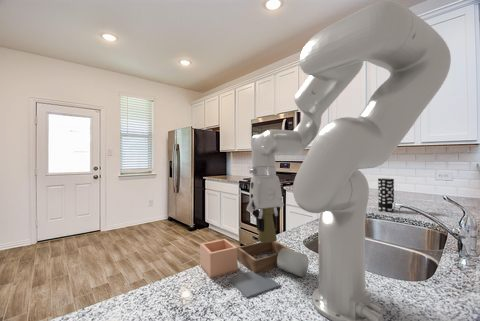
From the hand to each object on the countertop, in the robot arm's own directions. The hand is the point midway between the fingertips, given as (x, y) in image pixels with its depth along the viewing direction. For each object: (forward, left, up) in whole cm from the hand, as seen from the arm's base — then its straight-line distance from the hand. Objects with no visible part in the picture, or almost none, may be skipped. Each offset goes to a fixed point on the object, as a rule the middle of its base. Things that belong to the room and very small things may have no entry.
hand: (266, 228), depth 72 cm
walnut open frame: (+1, 0, -11) cm, 11 cm away
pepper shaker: (0, 0, -4) cm, 4 cm away
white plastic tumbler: (-9, -3, -11) cm, 14 cm away
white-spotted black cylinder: (+20, -106, -11) cm, 108 cm away
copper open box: (+4, +15, -11) cm, 19 cm away
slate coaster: (-8, +10, -11) cm, 17 cm away
